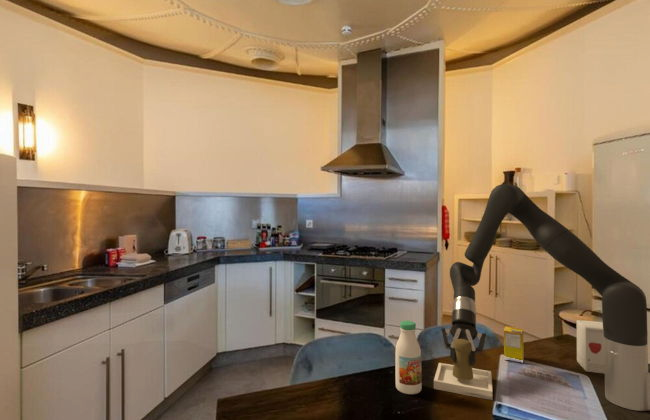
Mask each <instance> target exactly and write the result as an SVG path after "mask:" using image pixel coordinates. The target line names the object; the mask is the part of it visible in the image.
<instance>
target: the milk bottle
mask: <svg viewBox="0 0 650 420" xmlns="http://www.w3.org/2000/svg"><path fill="white" fill-rule="evenodd" d="M399 328H400V335H399V338H398V340H397V342H396V346H395V351H394V352H395V356H394V357H395V373H394V374H395V388H396V389H397V391H399V392H400V393H402V394H405V395H417V394H419V393H421V392H422V388H423V386H422V385H423V384H422V383H423V381H422V379H423V377H422V375H423V374H422V371H423V370H422V350H421V346H420V343H419V341H418V339H417V336H416V323H415V322H414V321H412V320H402V321H400V323H399Z"/></svg>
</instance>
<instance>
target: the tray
mask: <svg viewBox="0 0 650 420" xmlns="http://www.w3.org/2000/svg"><path fill="white" fill-rule="evenodd" d="M453 366H454V364H449V363H442V362H438V364H437V368H436V371H435V375H434V378H433V389H434V390H439V391H444V392H448V393H449V392H450V393H452V394H453V393H454V394H457V395H463V396H470V397H474V398H479V399H484V400H489V401H493V380H492V379H493V378H492V371H491V370H487V369H486V370H485V369H480V368H473V367H472V372H473V379H471V380H462V379H458V378H456V377H454V376H453Z"/></svg>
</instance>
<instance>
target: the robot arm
mask: <svg viewBox="0 0 650 420" xmlns="http://www.w3.org/2000/svg"><path fill="white" fill-rule="evenodd" d="M508 214H510V215H511V216H513V217H514V218H515V219H516V220H518V221H519V222H520V223H521V224H522V225H523V226H524V227H525V228H526V229H527V231H528V232H529V234H530V235H531V237H533V239H534V241H535V242H536V243H537V244H538V245H539V246H540V247H541V248H542V249H543V250H544V251H545V252H546V253H547V254H549V256H550V257H551V258H553V259H554V260H556V261H557V262H558V263H560V264H561V265H563V266H564V267H565V268H567V269H568V270H570V271H572V272H573V273H574V274H576V275H578V276H580V277H581V278H583V280H585V281H586V282H587V283H589V284H590V285H591V287H592V288H593V289H595V291H596V292H598V294H599V295H600V296H601V312H602V314H601V315H602V322H603V331H604V367H605V374H604V396H605V399H606V400H607V401H609V402H610V403H612V404H613V405H616V406H617V407H621V408H623V409H627V410H632V411H638V412H639V411H640V412H643V411H644V412H645V411H650V371H649V355H648V354H649V353H648V350H649V348H648V346H649V345H648V309H647V308H648V307H647V306H648V305H647V298H646V294H645V292H644V291H643V289H641V288H640V287H639V286H638V285H637V284H636V283H634V282H633V281H631V280H629V279H627V278H626V277H625V276H623V275H622V274H620V273H619V272H618V271H616V270H615V269H613V268H612V267H611V266H609V264H607V263H605V262H604V261H603V260H602V259H601V257H599V256H598V254H596V252H594V251H593V250H592V249H591V248H590V247H589V246H588V245H587V244H586V243H585V242H584V241H583V240H581V239H580V238H579V237H578V236H577V235H576V234H574V233H573V232H572V231H571V230H570V229H568V228H567V227H566V226H564V224H562V223H560V222H559V221H558V220H556V219H555V218H554V217H552V216H551V215H550V214H548V213H547V212H545V211H544V210H542V208H540V207H539V206H538V205H537V204H535V202H534V201H533V200H532V199H531V198H530V197H529V196H528V195H527V194H526V193H525V191H523V190H522V189H521V188H520V187H518V186H517V185H515V184H508V183H503V184H499V185H496V186H495V187H494V188H493V189H492V190H491V191H490V193H489V197H488V199H487V203H486V206H485V209H484V211H483V215H482V216H481V219H480V222H479V224H478V226H477V229H476V231H475V233H474V234H473V236H472V237H471V240H470V241H469V244H468V246H467V247H466V249H465V252H464V257H465V259H467V260H468V262H471V263H473V264H472V265H468V264H466V263H464V262H460V261H456V262H453V264H452V265H451V266H450V269H449V278H450V282H451V286H452V289H453V302H452V307H451V309H452V310H451V326H450V327H449V328H444V327H443V328H441V335H442V338H443V344H444V347H445V349H448V350H450V353H449V356H450V358H449V359H450V361H451V362H452V364H454V363H455V352H456V350H455V348H454V341H455V340H457V339H465V340H468V341H469V342H470V343H471V345H472V348H471V351H470V365H471V366H472V367H473V366H474V365H476V355H477V354H482V353H483V350H484V347H485V344H486V341H487V334H486V333H483V332H482V333H480V332H478V330H477V308H476V292H475V291H476V290H475V289H474V286H476V285H478V283H479V282H480V280H481V276H482V275H481V274H482V270H483V267H484V263H485V260H486V259H487V257H488V255H489V253H490V251H491V249H492V247H493V246H494V243H495V239H496V236H497V232H498V230H499V229H500V226H501V224H502V222H503V220H504V219H505V218H506V217H507V215H508ZM450 334H451V336H452V342H451V343H449V340H448V337H449V335H450ZM477 337H478V341H479V342H478V345H477V346H475V344H474V340H475V339H476V338H477Z"/></svg>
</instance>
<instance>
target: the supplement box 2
mask: <svg viewBox="0 0 650 420" xmlns="http://www.w3.org/2000/svg"><path fill="white" fill-rule="evenodd" d="M576 361H577V363H578V364H579V365H580V366H581V367H582V369H583V370H584V371H585V372H588V373H589V372H590V373H596V374H597V373H598V374H604V375H605V367H604V331H603V321H595V320H582V319H580V320H579V319H576Z"/></svg>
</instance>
